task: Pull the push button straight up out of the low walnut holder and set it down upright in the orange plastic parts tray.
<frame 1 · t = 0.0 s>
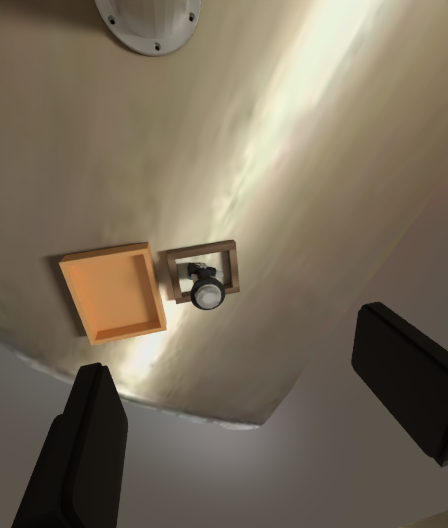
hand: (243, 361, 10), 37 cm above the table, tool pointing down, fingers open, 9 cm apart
component holder: (204, 270, 49), on the table
parts tray: (120, 290, 47), on the table
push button: (203, 270, 49), on the table
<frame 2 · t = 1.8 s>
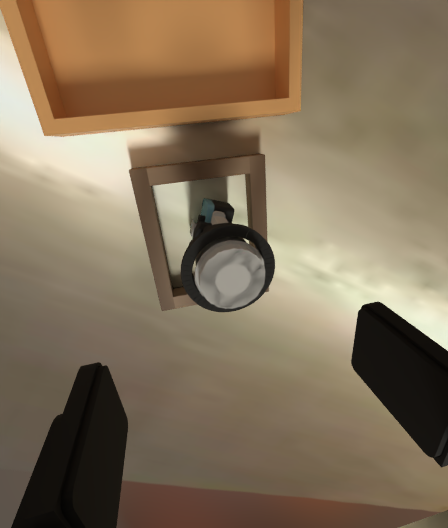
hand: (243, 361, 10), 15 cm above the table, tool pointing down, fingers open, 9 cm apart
component holder: (206, 233, 23), on the table
parts tray: (161, 8, 17), on the table
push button: (206, 233, 24), on the table
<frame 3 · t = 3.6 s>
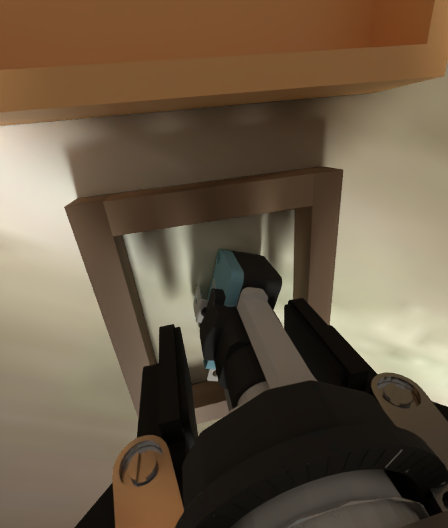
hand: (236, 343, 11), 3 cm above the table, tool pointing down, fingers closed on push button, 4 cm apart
component holder: (222, 305, 13), on the table
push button: (221, 303, 13), on the table, touching gripper
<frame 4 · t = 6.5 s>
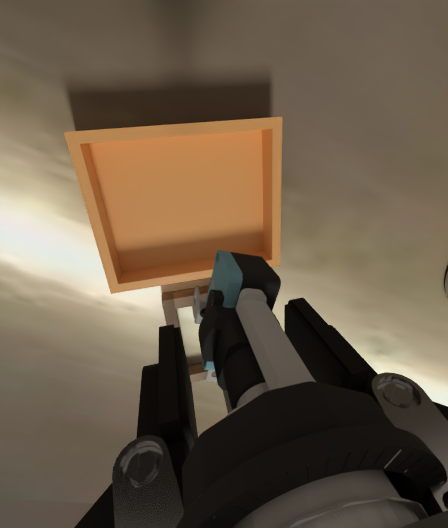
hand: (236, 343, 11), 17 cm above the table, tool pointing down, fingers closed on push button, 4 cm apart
component holder: (212, 329, 32), on the table
parts tray: (187, 203, 25), on the table
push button: (220, 304, 13), point 14 cm above the table, touching gripper
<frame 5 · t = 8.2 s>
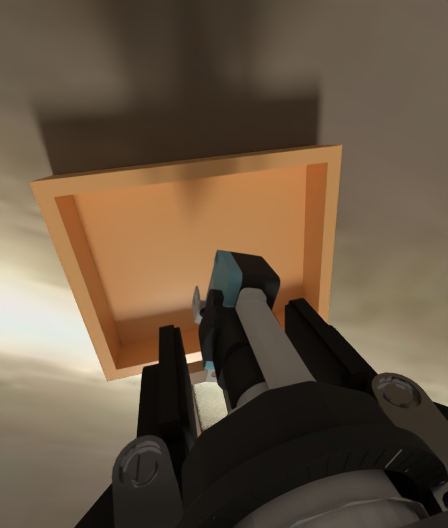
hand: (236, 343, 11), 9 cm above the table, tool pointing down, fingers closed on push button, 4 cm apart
component holder: (236, 398, 26), on the table
parts tray: (206, 256, 19), on the table
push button: (220, 304, 13), point 6 cm above the table, touching gripper
when the fingers open (5 cm above the table, at t = 9.4 s): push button drops 1 cm, resting on parts tray.
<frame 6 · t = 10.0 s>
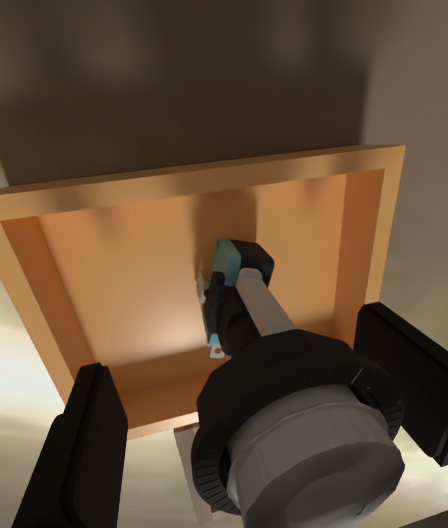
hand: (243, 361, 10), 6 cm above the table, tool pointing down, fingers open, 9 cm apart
component holder: (247, 445, 22), on the table
parts tray: (215, 286, 15), on the table
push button: (221, 288, 15), resting on parts tray
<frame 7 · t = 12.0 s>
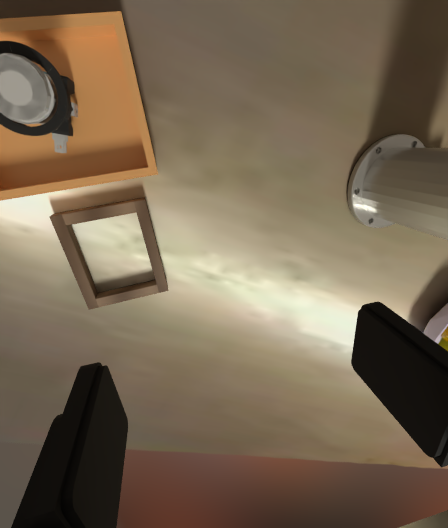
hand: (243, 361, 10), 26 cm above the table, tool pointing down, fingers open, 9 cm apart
fruit bowl: (445, 327, 57), on the table
component holder: (116, 253, 33), on the table
parts tray: (59, 115, 26), on the table
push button: (61, 115, 26), resting on parts tray
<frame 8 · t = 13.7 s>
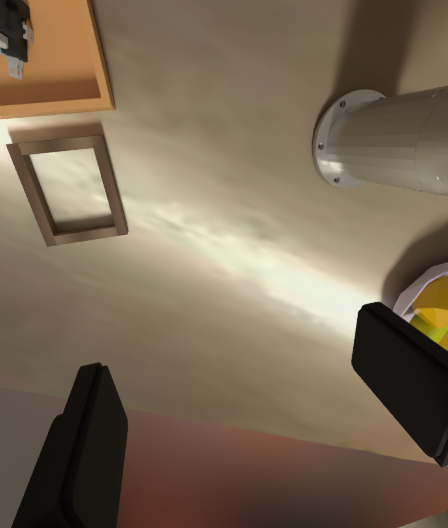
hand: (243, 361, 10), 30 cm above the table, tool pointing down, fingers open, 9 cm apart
fruit bowl: (421, 306, 56), on the table
component holder: (76, 192, 34), on the table
parts tray: (16, 42, 27), on the table
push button: (18, 41, 27), resting on parts tray
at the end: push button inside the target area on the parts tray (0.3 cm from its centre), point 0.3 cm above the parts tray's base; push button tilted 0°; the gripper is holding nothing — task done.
